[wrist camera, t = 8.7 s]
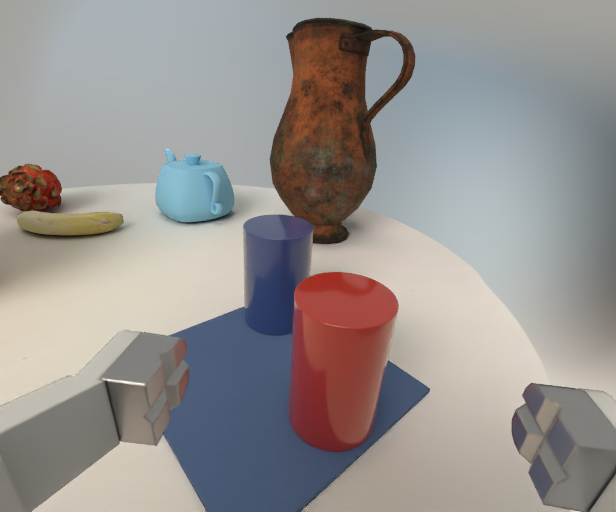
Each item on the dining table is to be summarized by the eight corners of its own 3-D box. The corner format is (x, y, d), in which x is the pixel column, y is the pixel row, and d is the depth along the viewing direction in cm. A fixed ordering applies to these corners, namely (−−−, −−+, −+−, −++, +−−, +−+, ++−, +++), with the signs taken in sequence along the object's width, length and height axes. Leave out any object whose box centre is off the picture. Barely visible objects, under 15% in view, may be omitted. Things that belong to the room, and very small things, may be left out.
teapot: (194, 144, 70) (250, 159, 59) (198, 196, 74) (250, 218, 64) (130, 148, 61) (181, 166, 51) (138, 206, 66) (187, 234, 55)
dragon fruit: (38, 230, 56) (34, 219, 65) (80, 194, 59) (70, 188, 68) (-17, 191, 51) (-13, 185, 60) (31, 154, 54) (28, 153, 63)
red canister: (392, 417, 25) (419, 302, 21) (331, 472, 22) (349, 344, 17) (330, 368, 30) (343, 263, 25) (270, 406, 26) (272, 289, 21)
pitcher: (311, 210, 70) (324, 37, 58) (406, 243, 58) (449, 30, 45) (246, 228, 59) (244, 18, 46) (346, 273, 46) (381, 1, 34)
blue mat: (429, 392, 28) (430, 388, 28) (238, 567, 17) (238, 563, 17) (285, 293, 41) (285, 290, 41) (120, 358, 30) (119, 354, 30)
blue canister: (319, 320, 36) (328, 229, 32) (269, 344, 32) (271, 245, 28) (281, 293, 40) (284, 210, 36) (232, 312, 36) (229, 221, 32)
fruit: (98, 244, 50) (94, 223, 48) (-1, 234, 51) (-8, 212, 49) (127, 227, 56) (124, 208, 55) (38, 219, 57) (33, 199, 56)
